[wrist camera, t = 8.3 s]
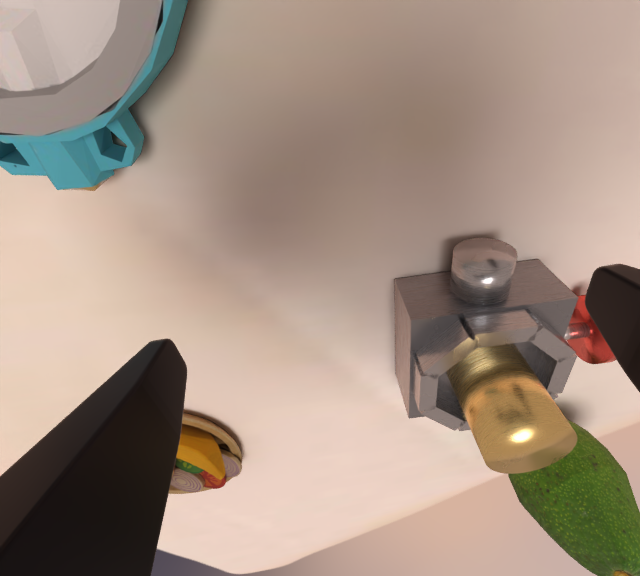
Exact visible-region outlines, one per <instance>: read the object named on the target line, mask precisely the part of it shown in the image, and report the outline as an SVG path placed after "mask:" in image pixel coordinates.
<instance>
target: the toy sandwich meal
mask: <svg viewBox="0 0 640 576" xmlns="http://www.w3.org/2000/svg"><path fill="white" fill-rule="evenodd" d="M241 463H242V455H241V451H240V449H239V446H238V445H237V443H236V442H235V441H234V440H233V438H232V437H231V436H230V435H228V434H227V433H226V432H225V431H224V430H223V429H222V428H220V427H219V426H218V425H216V424H214V423H212V422H210V421H208V420H206V419H203V418H201V417H198V416H195V415H191V414H186V413H183V419H182V428H181V435H180V441H179V447H178V452H177V456H176V461H175V465H174V470H173V475H172V479H171V484H170V488H169V494H184V493H194V492H200V491H205V490H209V489H212V488H213V489H217V488H221V487H223V486H224V485H225V483H226V482H227V481H229V480H230V479H231V478H233V477H235V476H237V475H239V474H240V472H241V469H242V465H241Z"/></svg>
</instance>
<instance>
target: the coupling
mask: <svg viewBox="0 0 640 576" xmlns="http://www.w3.org/2000/svg"><path fill="white" fill-rule="evenodd" d="M447 376H448V378H449V381H450V383H451V385H452V388H453V390H454V392H455V395H456V397H457V399H458V401H459V404H460V406H461V408H462V411H463V413H464V415H465V417H466V420H467V422H468V424H469V427H470V429H471V431H472V433H473V436H474V438H475V440H476V443H477V445H478V447H479V449H480V452H481V454H482V456H483V459H484V461H485V463H486V465H487V466H488V467H489V468H490V469H492V470H494V471H496V472H500V473H508V474H516V473H525V472H530V471H534V470H538V469H541V468H544V467H547V466H549V465H551V464H553V463H555V462H557V461H559V460H560V459H562V458H564V457H565V456H566V455H567V454H569V453H570V452H571V451H572V449H573V448H574V447H575V445H576V443H577V434H576V432H575V431H574V429H573V428H572V426H571V425H570V423H569V422H568V421H567V419H566V418H565V416H564V415H563V413H562V412H561V410H560V409H559V408H558V406H557V405H556V403H555V402H554V400H553V399H552V397H551V396H550V395H549V393H548V392H547V390H546V389H545V387H544V386H543V384H542V383H541V382H540V380H539V379H538V377H537V376H536V374H535V373H534V371H533V370H532V369H531V367H530V366H529V364H528V363H527V361H526V360H525V358H524V357H523V356H522V354H521V353H520V351H519V350H518V348H517V347H516V346H515V345H514V344H504V345H497V346H489V347H482V348H477V349H476V350H474V351H473V352H471V353H470V354H469V355H467V356H466V357H465V358H463V359H462V360H461V361H459V362H458V363H457V364H455V365H454V366H453V367H451V368H450V369H449V370H447Z"/></svg>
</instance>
